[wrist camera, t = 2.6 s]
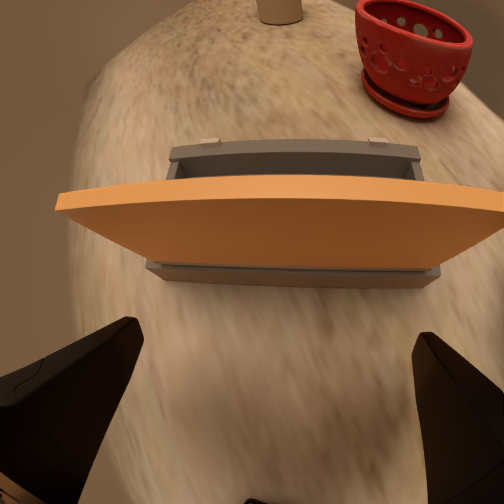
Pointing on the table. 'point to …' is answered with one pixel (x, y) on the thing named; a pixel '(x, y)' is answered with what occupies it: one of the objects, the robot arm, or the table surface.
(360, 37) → the plant pot
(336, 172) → the grey rectangular tray
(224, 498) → the table surface
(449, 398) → the robot arm
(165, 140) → the table surface
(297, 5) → the travel mug
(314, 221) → the cover
